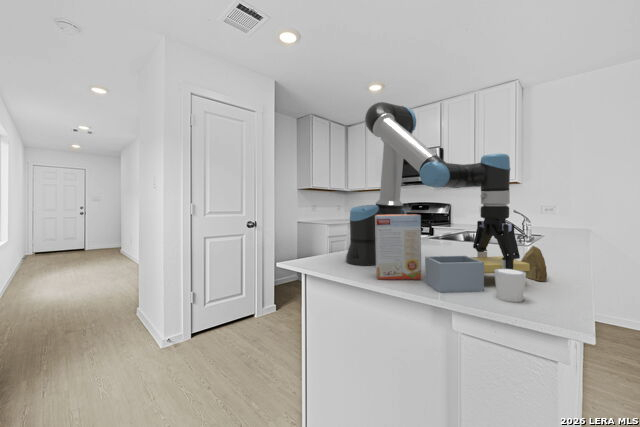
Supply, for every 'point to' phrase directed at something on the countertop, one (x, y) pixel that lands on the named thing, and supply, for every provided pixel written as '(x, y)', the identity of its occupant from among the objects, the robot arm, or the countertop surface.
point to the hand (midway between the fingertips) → (493, 276)
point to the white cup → (510, 284)
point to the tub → (454, 273)
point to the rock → (535, 264)
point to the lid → (500, 264)
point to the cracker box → (398, 246)
